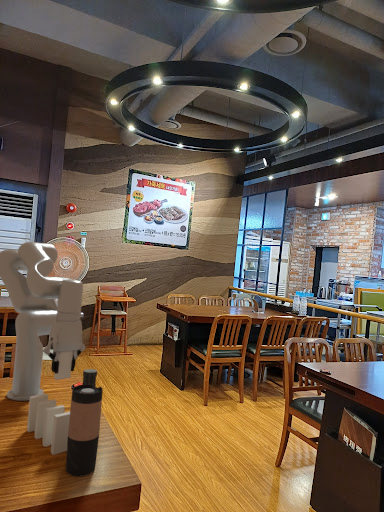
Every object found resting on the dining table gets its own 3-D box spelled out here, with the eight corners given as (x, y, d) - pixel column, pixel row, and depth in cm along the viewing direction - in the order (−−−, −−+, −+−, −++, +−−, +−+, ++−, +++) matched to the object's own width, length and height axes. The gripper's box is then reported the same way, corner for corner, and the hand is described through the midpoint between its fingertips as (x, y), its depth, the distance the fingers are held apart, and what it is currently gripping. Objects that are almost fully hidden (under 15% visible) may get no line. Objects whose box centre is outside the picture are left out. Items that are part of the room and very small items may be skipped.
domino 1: (26, 430, 114) (29, 396, 115) (43, 426, 118) (46, 393, 118) (28, 432, 113) (32, 398, 113) (45, 428, 117) (48, 395, 117)
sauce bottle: (88, 445, 108) (94, 375, 108) (68, 441, 109) (74, 372, 110) (98, 435, 114) (104, 369, 115) (79, 432, 116) (85, 366, 116)
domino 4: (42, 444, 106) (45, 408, 107) (59, 439, 110) (62, 404, 110) (44, 446, 105) (47, 410, 106) (61, 442, 109) (64, 406, 109)
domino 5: (50, 452, 102) (53, 415, 103) (67, 447, 106) (71, 411, 106) (53, 454, 101) (56, 417, 102) (70, 449, 105) (74, 413, 105)
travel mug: (66, 479, 91) (73, 394, 91) (63, 462, 98) (70, 384, 98) (98, 474, 94) (105, 393, 94) (93, 459, 101) (100, 383, 101)
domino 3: (54, 378, 126) (57, 348, 126) (68, 376, 129) (71, 347, 129) (56, 379, 125) (59, 349, 125) (70, 377, 128) (73, 348, 128)
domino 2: (34, 437, 110) (37, 402, 111) (50, 432, 114) (53, 399, 114) (36, 439, 109) (39, 404, 109) (53, 434, 113) (56, 400, 113)
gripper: (85, 314, 136) (80, 365, 136) (38, 315, 124) (33, 371, 124) (96, 317, 131) (91, 371, 130) (48, 319, 119) (42, 378, 118)
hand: (63, 370), depth 127 cm, fingers closed on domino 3, 4 cm apart
